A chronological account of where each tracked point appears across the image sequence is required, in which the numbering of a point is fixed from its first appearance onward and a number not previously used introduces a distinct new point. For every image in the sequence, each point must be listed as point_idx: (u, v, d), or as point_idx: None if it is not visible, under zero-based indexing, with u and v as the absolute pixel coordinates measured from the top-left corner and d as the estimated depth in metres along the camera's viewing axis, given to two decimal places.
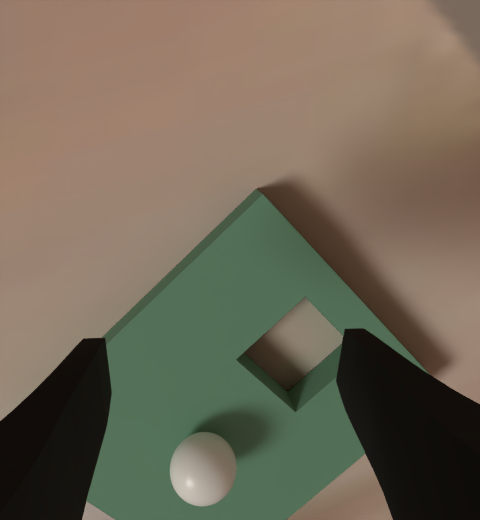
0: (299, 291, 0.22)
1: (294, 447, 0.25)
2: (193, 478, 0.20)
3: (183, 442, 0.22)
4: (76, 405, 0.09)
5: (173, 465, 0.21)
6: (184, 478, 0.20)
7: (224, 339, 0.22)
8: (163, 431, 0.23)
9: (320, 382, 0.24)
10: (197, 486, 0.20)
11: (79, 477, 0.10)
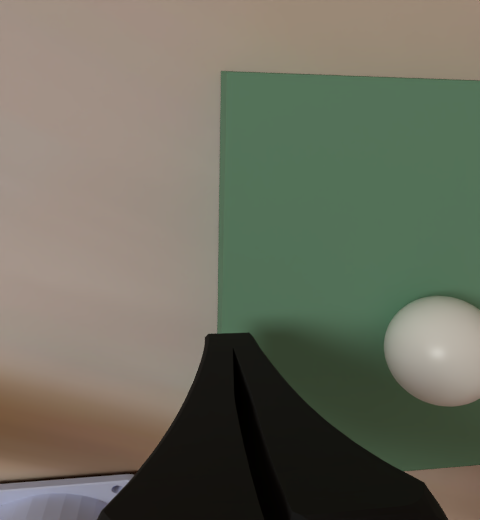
0: None
1: (469, 404, 0.17)
2: None
3: (452, 298, 0.13)
4: None
5: (440, 316, 0.13)
6: (466, 343, 0.12)
7: None
8: (406, 265, 0.14)
9: None
10: (477, 368, 0.12)
11: None
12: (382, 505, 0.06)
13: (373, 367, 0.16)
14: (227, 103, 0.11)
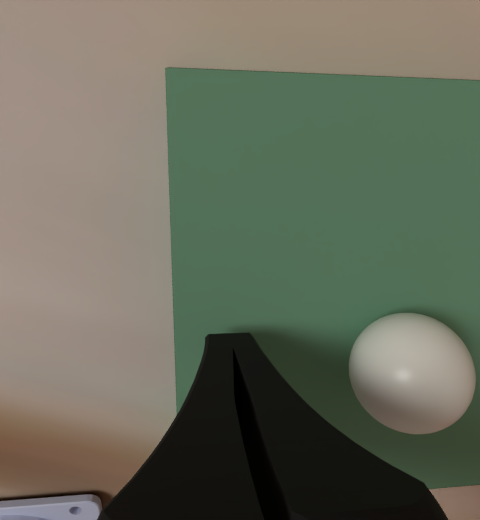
0: None
1: None
2: (449, 380, 0.11)
3: (421, 316, 0.12)
4: None
5: (406, 336, 0.11)
6: (431, 367, 0.11)
7: None
8: (373, 278, 0.13)
9: None
10: (444, 395, 0.11)
11: None
12: (383, 505, 0.06)
13: (341, 386, 0.15)
14: (167, 103, 0.10)
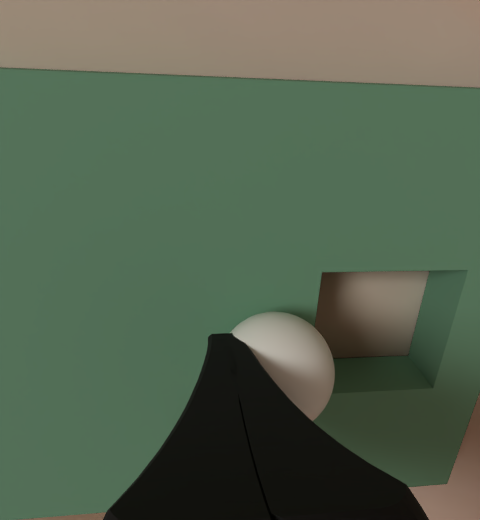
0: (471, 257, 0.14)
1: None
2: None
3: (260, 322, 0.12)
4: None
5: (302, 332, 0.12)
6: (316, 330, 0.12)
7: (340, 233, 0.13)
8: (135, 283, 0.13)
9: (355, 381, 0.16)
10: None
11: None
12: (362, 508, 0.06)
13: (130, 394, 0.14)
14: None
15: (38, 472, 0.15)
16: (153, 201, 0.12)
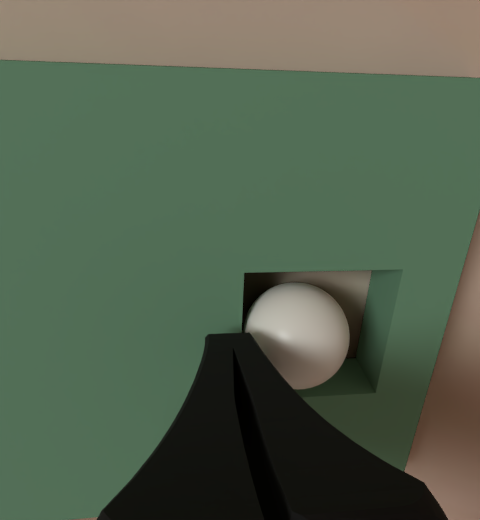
0: (405, 256, 0.13)
1: None
2: (256, 299, 0.14)
3: (308, 299, 0.13)
4: None
5: (296, 282, 0.14)
6: (268, 289, 0.14)
7: (260, 231, 0.12)
8: (42, 285, 0.12)
9: None
10: None
11: None
12: (383, 506, 0.06)
13: (50, 401, 0.14)
14: None
15: None
16: (52, 198, 0.11)
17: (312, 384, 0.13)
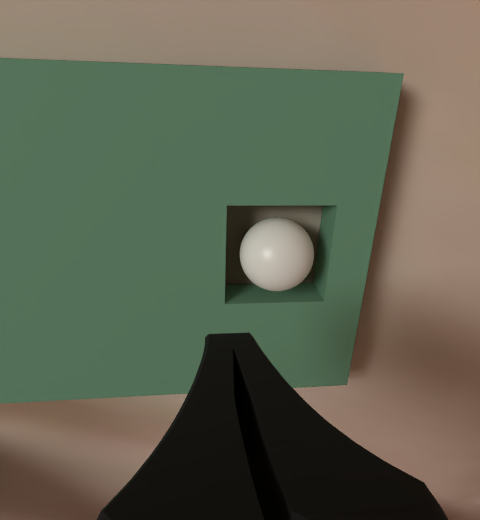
0: (338, 196, 0.19)
1: (191, 335, 0.21)
2: (246, 233, 0.20)
3: (287, 224, 0.19)
4: None
5: None
6: None
7: (237, 176, 0.18)
8: (90, 211, 0.18)
9: (265, 297, 0.21)
10: (243, 239, 0.20)
11: None
12: (382, 506, 0.06)
13: (92, 299, 0.19)
14: None
15: (25, 363, 0.21)
16: (100, 150, 0.17)
17: (296, 282, 0.19)
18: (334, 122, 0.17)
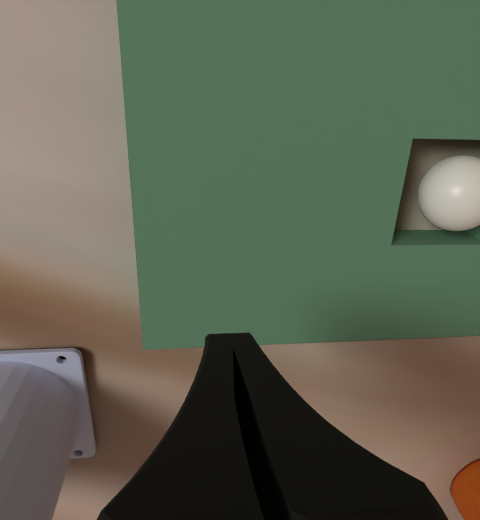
0: None
1: (352, 278, 0.21)
2: (435, 173, 0.19)
3: None
4: None
5: (452, 156, 0.19)
6: (436, 165, 0.19)
7: (428, 106, 0.17)
8: (280, 142, 0.17)
9: (427, 240, 0.21)
10: (428, 180, 0.19)
11: None
12: (382, 506, 0.06)
13: (264, 238, 0.19)
14: None
15: (187, 306, 0.20)
16: (301, 76, 0.16)
17: None
18: None
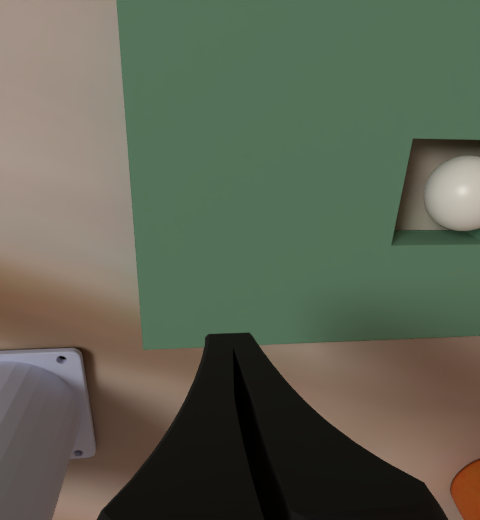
0: None
1: (352, 278, 0.21)
2: (445, 175, 0.19)
3: None
4: None
5: None
6: (445, 167, 0.19)
7: (428, 106, 0.17)
8: (280, 142, 0.17)
9: (427, 240, 0.21)
10: (438, 182, 0.19)
11: None
12: (382, 506, 0.06)
13: (264, 238, 0.19)
14: None
15: (187, 306, 0.20)
16: (301, 76, 0.16)
17: None
18: None
